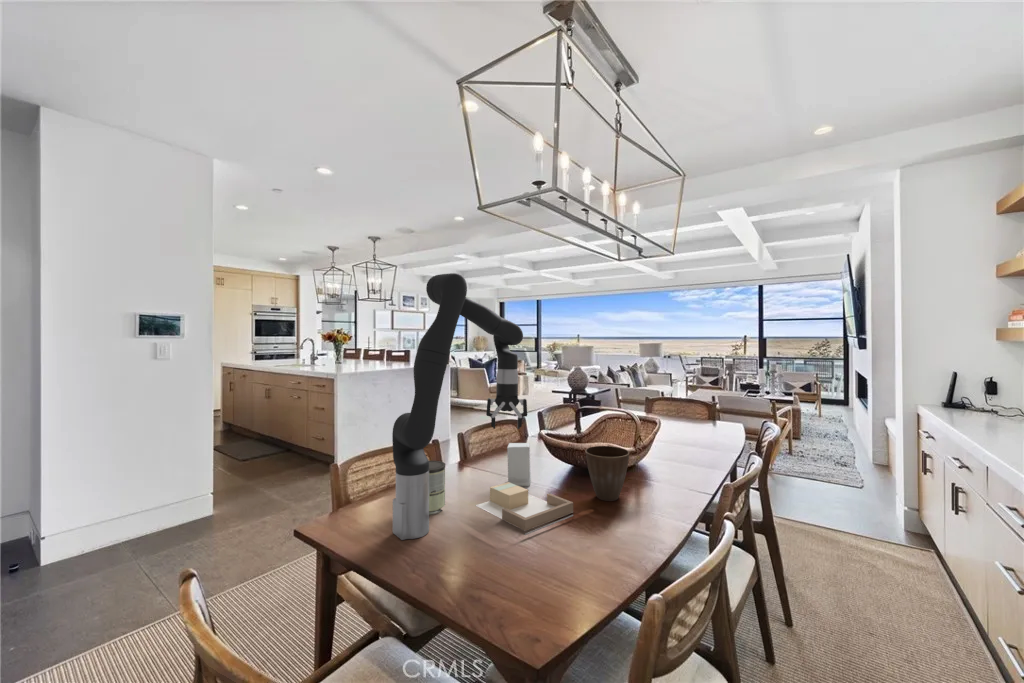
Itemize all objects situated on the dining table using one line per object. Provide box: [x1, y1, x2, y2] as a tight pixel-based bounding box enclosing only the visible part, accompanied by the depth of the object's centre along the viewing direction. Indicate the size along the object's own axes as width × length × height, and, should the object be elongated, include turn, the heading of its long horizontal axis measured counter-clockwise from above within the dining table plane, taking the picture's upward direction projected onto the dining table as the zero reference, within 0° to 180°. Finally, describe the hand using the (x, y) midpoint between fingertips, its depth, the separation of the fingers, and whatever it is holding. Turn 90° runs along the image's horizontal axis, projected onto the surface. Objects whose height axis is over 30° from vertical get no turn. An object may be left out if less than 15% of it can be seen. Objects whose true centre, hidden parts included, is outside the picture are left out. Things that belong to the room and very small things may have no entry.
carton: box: [489, 481, 529, 510], centre depth 136 cm, size 8×10×5 cm
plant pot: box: [584, 445, 630, 502], centre depth 144 cm, size 15×15×16 cm
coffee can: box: [429, 460, 446, 516], centre depth 134 cm, size 10×10×14 cm
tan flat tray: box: [475, 493, 574, 536], centre depth 131 cm, size 20×24×4 cm
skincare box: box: [506, 442, 532, 487], centre depth 155 cm, size 8×7×16 cm
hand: (506, 428), depth 145 cm, fingers open, 8 cm apart
